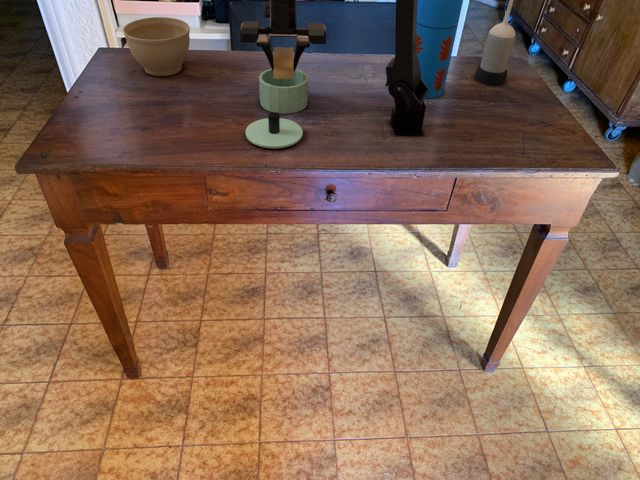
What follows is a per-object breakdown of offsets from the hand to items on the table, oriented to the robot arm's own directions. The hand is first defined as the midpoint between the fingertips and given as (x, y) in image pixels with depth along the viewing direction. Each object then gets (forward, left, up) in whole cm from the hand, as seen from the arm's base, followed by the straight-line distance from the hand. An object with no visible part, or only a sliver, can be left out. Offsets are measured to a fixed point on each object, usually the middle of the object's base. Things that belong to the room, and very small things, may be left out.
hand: (283, 70), depth 116 cm
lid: (+2, +16, -8) cm, 18 cm away
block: (0, 0, -1) cm, 1 cm away
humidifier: (-56, -16, -8) cm, 59 cm away
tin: (0, 0, -8) cm, 8 cm away
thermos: (-36, -9, -8) cm, 38 cm away
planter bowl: (+32, -18, -8) cm, 38 cm away
